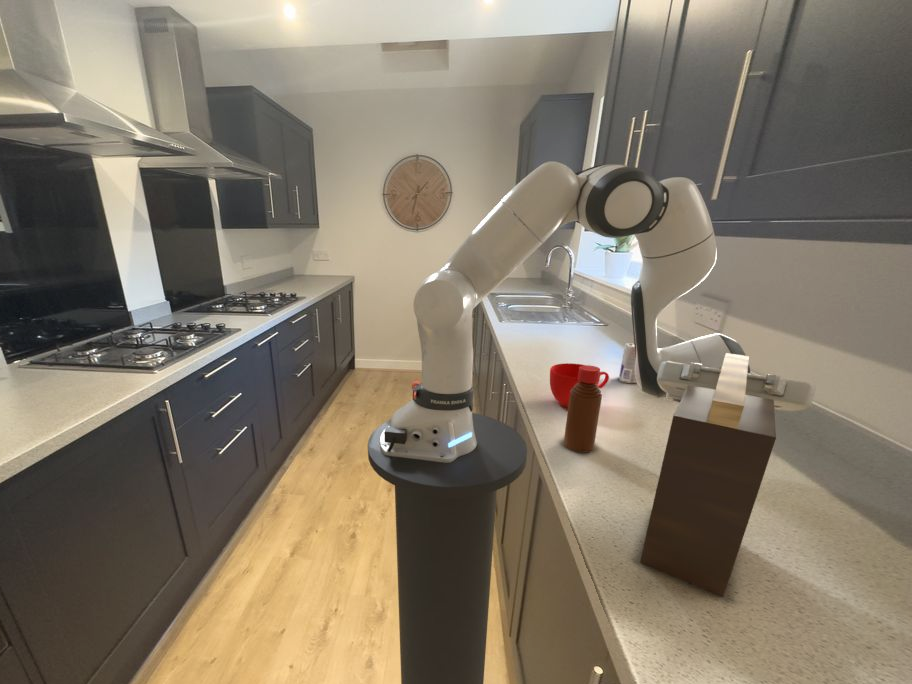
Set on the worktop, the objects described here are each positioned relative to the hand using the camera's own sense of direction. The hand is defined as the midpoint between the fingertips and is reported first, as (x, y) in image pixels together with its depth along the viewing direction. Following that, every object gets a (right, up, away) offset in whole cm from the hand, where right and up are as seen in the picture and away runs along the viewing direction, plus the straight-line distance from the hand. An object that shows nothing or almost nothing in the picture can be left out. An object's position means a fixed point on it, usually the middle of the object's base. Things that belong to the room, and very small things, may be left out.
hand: (732, 373), depth 63 cm
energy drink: (+23, -1, +70) cm, 74 cm away
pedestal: (-7, -27, 0) cm, 28 cm away
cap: (-10, +1, +25) cm, 27 cm away
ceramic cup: (0, -7, +54) cm, 55 cm away
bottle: (-10, -16, +32) cm, 37 cm away
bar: (-4, -3, -4) cm, 7 cm away
